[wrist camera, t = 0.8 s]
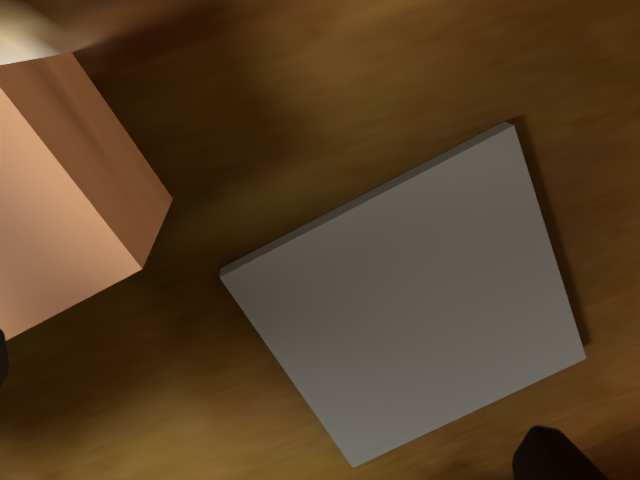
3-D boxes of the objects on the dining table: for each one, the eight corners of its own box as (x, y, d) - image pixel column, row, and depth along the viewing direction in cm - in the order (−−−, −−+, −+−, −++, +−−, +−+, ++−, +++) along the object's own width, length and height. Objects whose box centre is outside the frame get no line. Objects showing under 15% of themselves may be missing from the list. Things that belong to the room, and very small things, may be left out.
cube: (44, 267, 20) (-36, 362, 14) (-73, 135, 17) (-225, 189, 12) (173, 198, 19) (142, 269, 14) (72, 52, 17) (-15, 68, 11)
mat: (350, 455, 26) (352, 467, 25) (220, 268, 20) (219, 277, 20) (576, 348, 25) (586, 358, 24) (504, 121, 19) (513, 125, 19)
